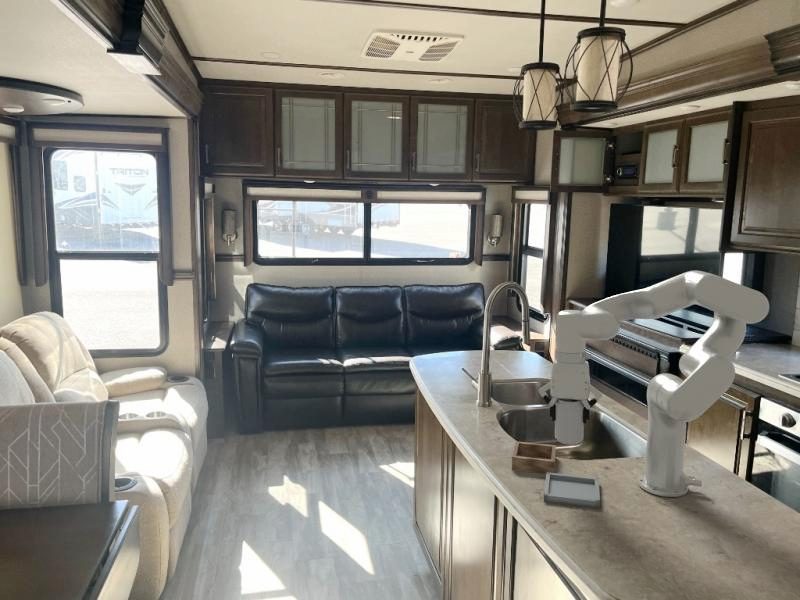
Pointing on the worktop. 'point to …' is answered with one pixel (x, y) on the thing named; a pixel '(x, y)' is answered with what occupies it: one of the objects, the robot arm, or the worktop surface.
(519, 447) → the caddy
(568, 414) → the can
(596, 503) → the tray
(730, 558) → the worktop surface
